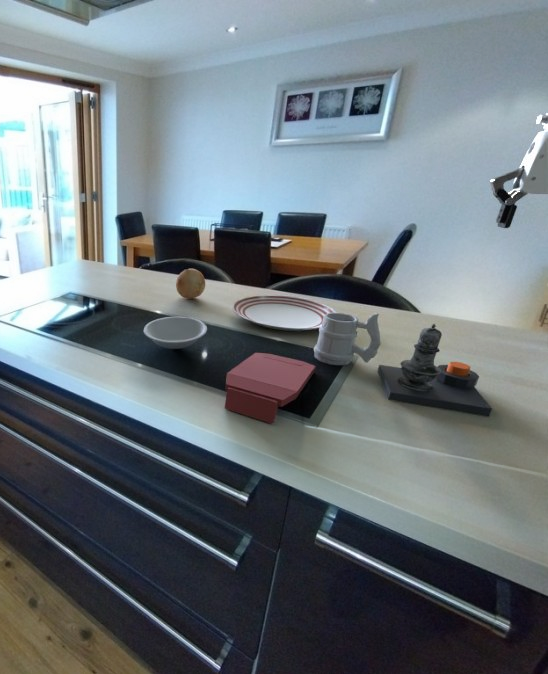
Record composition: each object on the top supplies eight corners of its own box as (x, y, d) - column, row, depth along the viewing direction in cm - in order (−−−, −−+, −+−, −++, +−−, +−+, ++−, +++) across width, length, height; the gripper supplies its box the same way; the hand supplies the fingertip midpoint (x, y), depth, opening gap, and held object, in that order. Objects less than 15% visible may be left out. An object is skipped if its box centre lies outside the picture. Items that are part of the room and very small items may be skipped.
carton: (253, 371, 90) (213, 404, 70) (257, 351, 88) (217, 379, 69) (311, 386, 83) (285, 427, 63) (316, 364, 82) (291, 400, 62)
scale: (465, 384, 75) (471, 367, 74) (492, 418, 65) (500, 399, 63) (376, 370, 81) (380, 355, 80) (388, 400, 71) (393, 383, 69)
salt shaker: (401, 373, 76) (418, 315, 72) (439, 384, 72) (460, 323, 67) (391, 383, 73) (408, 323, 68) (430, 395, 68) (452, 332, 64)
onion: (193, 304, 126) (195, 273, 122) (169, 298, 133) (170, 269, 129) (210, 298, 132) (212, 268, 128) (186, 292, 139) (188, 264, 135)
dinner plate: (350, 341, 95) (353, 329, 94) (233, 333, 102) (234, 321, 101) (322, 307, 119) (324, 296, 118) (229, 302, 126) (230, 292, 125)
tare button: (464, 371, 73) (467, 363, 73) (470, 378, 71) (473, 369, 70) (444, 368, 74) (446, 360, 74) (449, 375, 72) (452, 367, 71)
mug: (318, 348, 92) (328, 300, 87) (377, 362, 84) (392, 310, 80) (307, 359, 87) (317, 308, 82) (370, 375, 79) (384, 320, 75)
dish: (189, 368, 85) (190, 347, 83) (131, 354, 92) (131, 334, 90) (214, 340, 98) (216, 322, 96) (162, 330, 106) (163, 313, 104)
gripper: (520, 122, 64) (484, 229, 70) (679, 112, 57) (622, 232, 63) (500, 126, 70) (468, 224, 77) (641, 117, 63) (593, 226, 70)
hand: (538, 227), depth 70 cm, fingers open, 9 cm apart
